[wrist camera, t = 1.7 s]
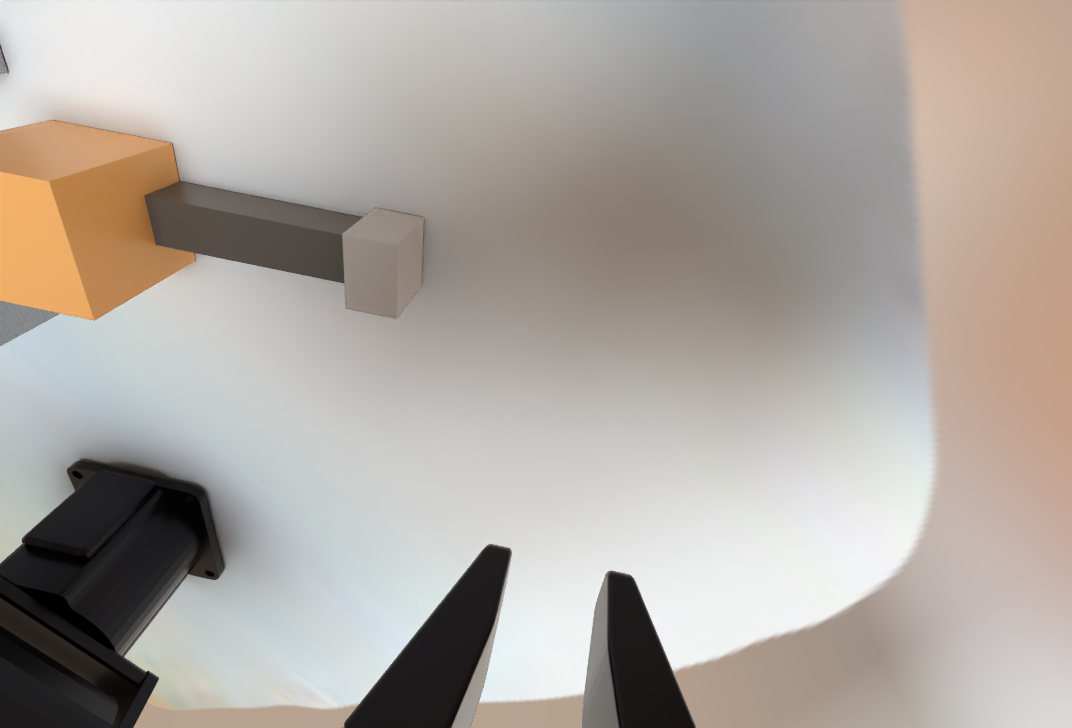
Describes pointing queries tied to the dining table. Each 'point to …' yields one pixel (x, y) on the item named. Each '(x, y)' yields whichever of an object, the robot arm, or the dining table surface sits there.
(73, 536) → the robot arm
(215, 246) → the plug
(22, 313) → the pair of grey bars
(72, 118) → the dining table surface
